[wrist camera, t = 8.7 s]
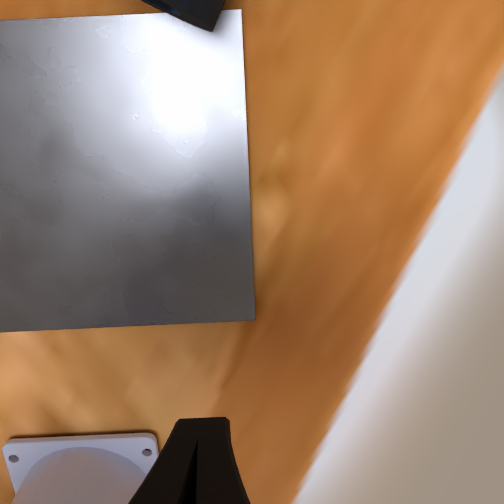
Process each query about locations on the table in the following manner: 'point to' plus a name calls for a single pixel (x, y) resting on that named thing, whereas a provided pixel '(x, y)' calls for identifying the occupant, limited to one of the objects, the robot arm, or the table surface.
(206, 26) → the pipe connector
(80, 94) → the grey cradle rack
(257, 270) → the table surface
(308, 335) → the table surface
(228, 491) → the robot arm
